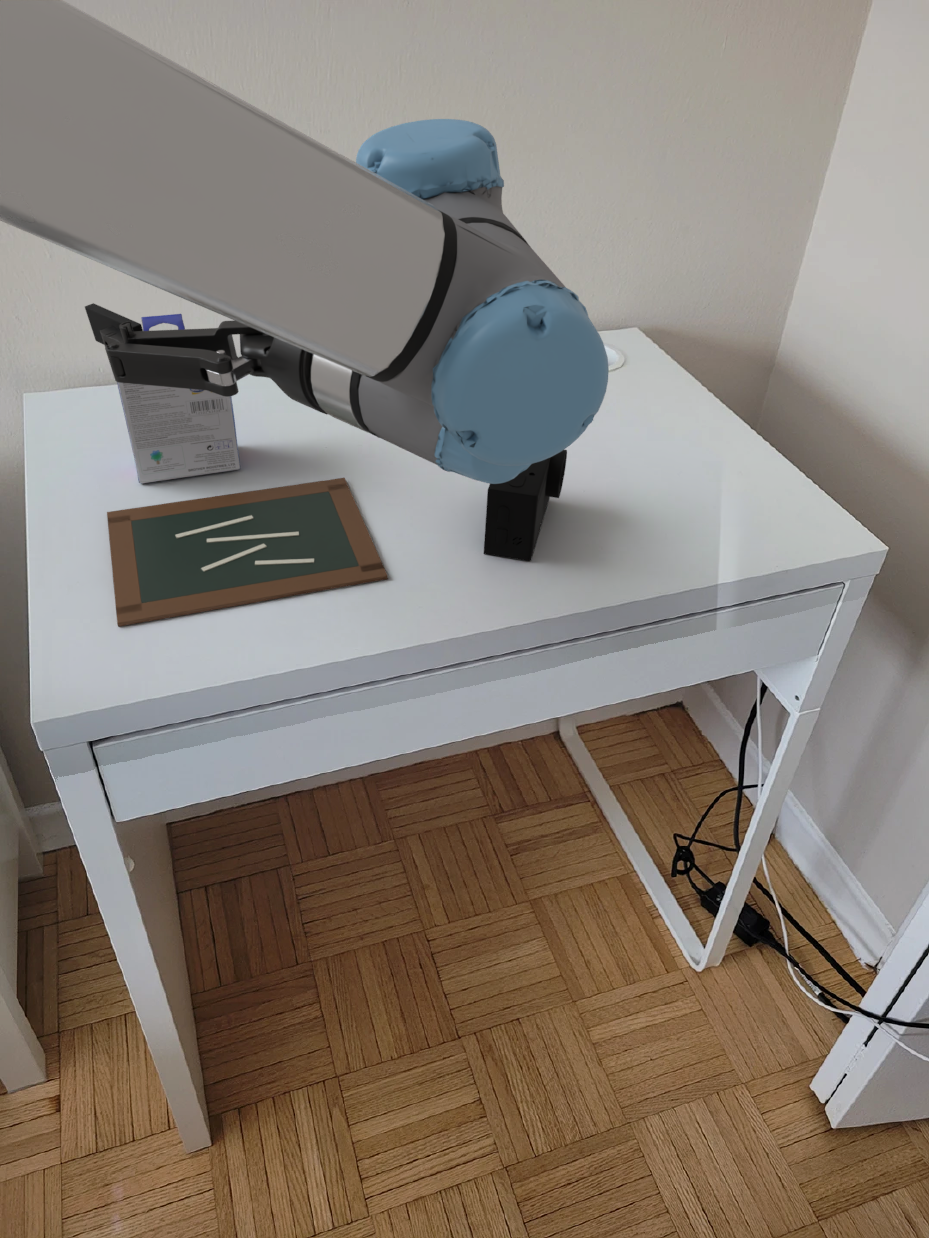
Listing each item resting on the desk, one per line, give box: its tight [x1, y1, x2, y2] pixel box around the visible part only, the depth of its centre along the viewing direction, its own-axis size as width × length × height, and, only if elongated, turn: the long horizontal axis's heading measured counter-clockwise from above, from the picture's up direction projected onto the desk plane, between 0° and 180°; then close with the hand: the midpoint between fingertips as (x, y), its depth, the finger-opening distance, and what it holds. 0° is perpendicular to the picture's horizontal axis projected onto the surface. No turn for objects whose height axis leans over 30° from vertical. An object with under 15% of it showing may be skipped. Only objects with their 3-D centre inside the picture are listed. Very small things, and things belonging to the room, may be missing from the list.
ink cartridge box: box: [116, 313, 241, 484], centre depth 89 cm, size 10×6×14 cm, turn 109°
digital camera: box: [483, 449, 568, 562], centre depth 85 cm, size 10×5×7 cm, turn 167°
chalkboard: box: [106, 477, 389, 628], centre depth 83 cm, size 22×16×1 cm
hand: (169, 292), depth 76 cm, fingers open, 13 cm apart
